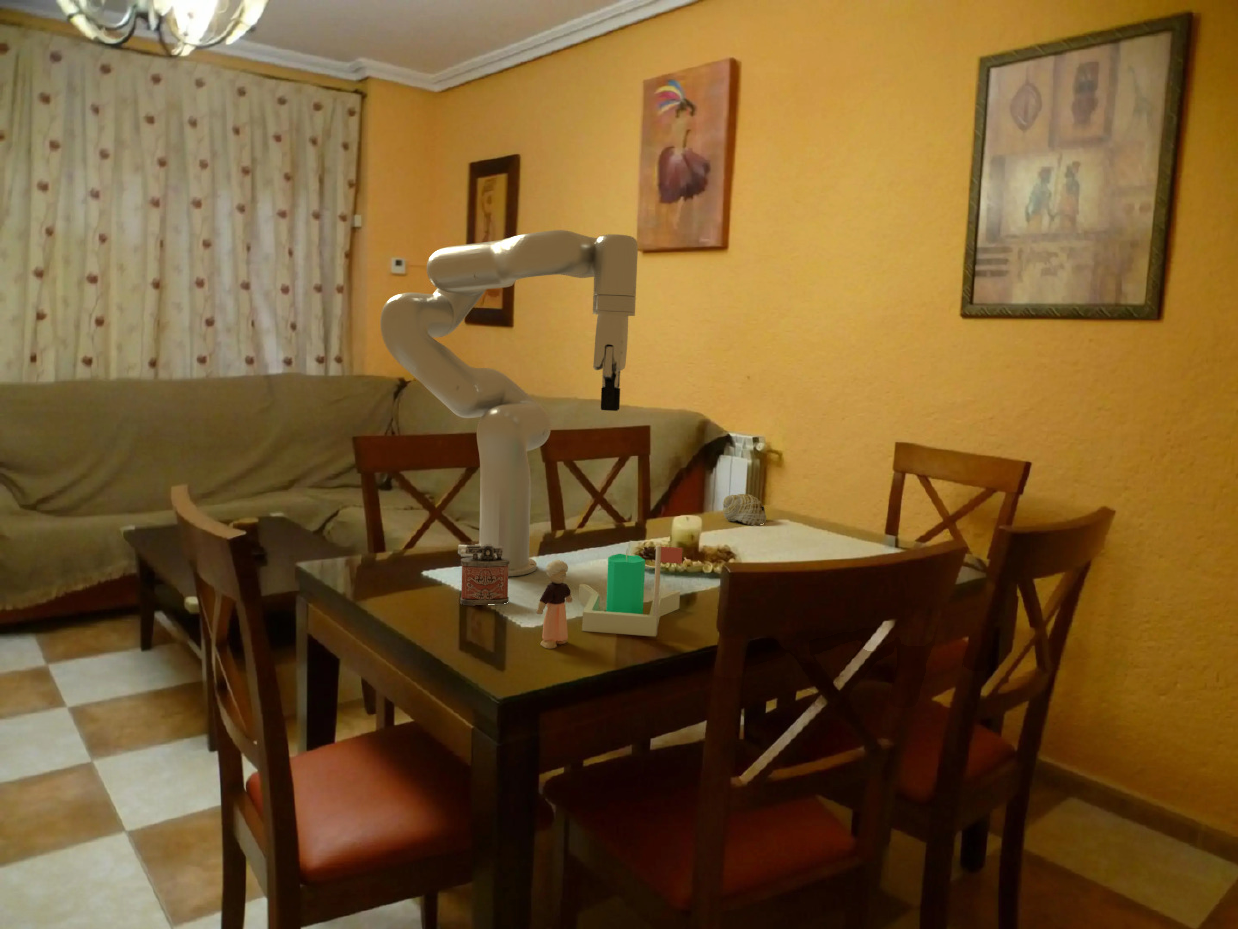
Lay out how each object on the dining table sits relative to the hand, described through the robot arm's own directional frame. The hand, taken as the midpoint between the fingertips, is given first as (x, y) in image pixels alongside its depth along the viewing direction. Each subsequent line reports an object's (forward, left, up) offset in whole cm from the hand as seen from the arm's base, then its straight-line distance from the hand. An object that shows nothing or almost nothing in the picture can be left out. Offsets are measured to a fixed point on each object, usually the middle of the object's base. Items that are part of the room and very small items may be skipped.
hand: (610, 409), depth 163 cm
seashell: (+27, +65, -32) cm, 77 cm away
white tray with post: (+6, -20, -32) cm, 38 cm away
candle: (+6, -22, -32) cm, 39 cm away
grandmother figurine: (-3, -34, -32) cm, 47 cm away
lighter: (-18, -17, -32) cm, 41 cm away
